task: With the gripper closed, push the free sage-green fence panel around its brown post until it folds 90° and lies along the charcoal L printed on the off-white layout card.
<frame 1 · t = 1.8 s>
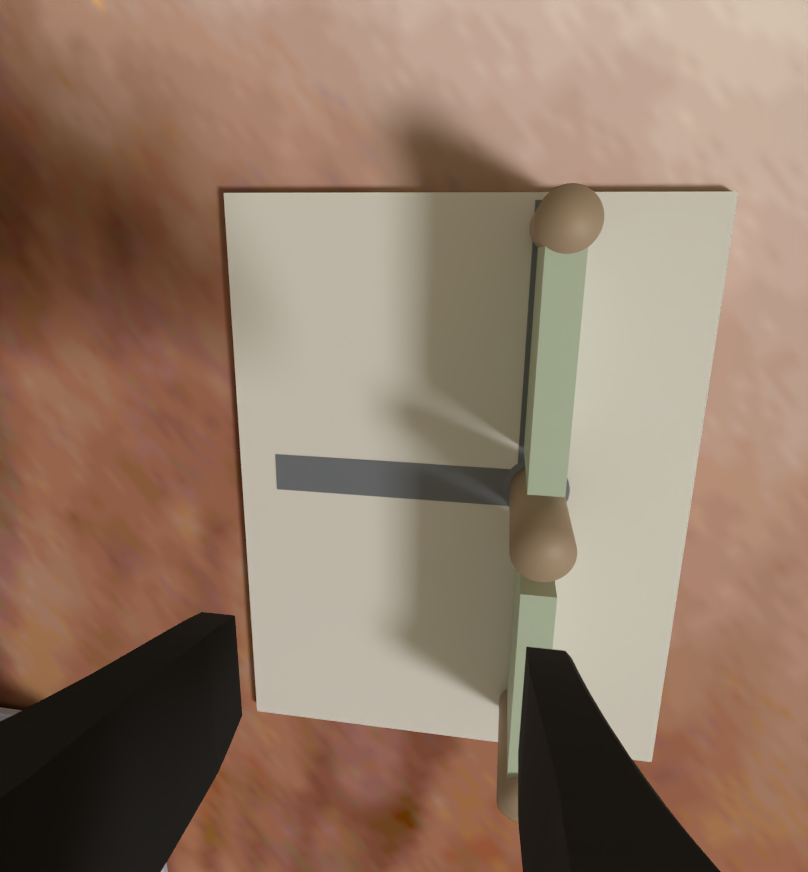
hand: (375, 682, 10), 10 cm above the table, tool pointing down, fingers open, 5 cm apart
fence panel: (527, 670, 18), point 3 cm above the table, hinge at 0.0°
layout card: (454, 495, 20), on the table
fence fixed: (535, 490, 19), resting on layout card
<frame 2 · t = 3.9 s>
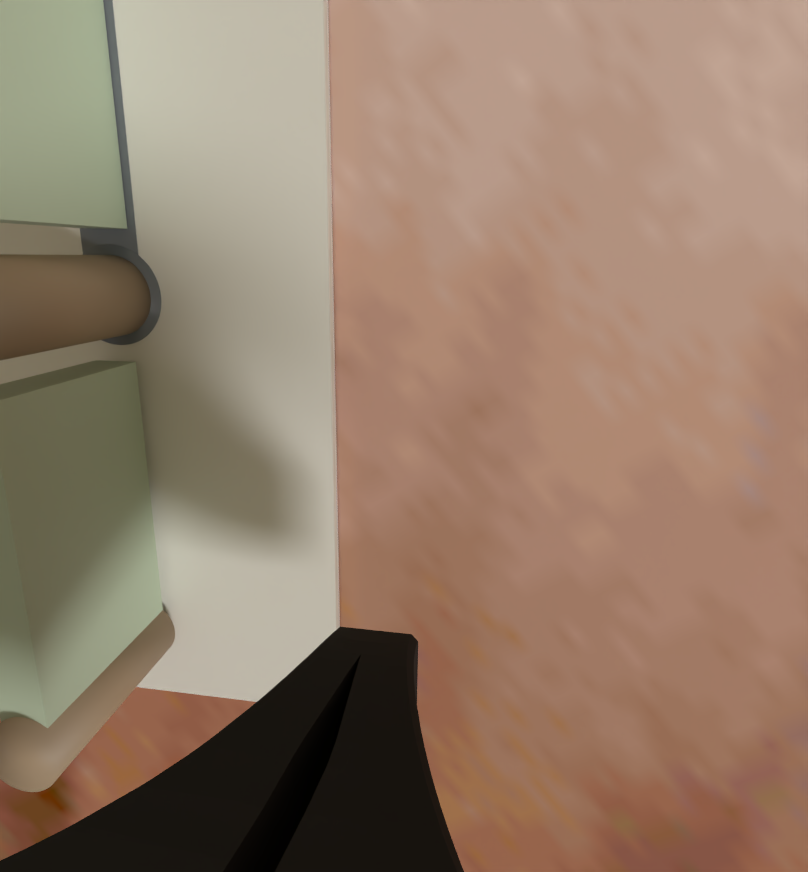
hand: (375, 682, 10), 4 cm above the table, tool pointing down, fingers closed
fence panel: (74, 559, 12), point 3 cm above the table, hinge at 0.0°
layout card: (20, 315, 13), on the table
fence fixed: (114, 295, 13), resting on layout card
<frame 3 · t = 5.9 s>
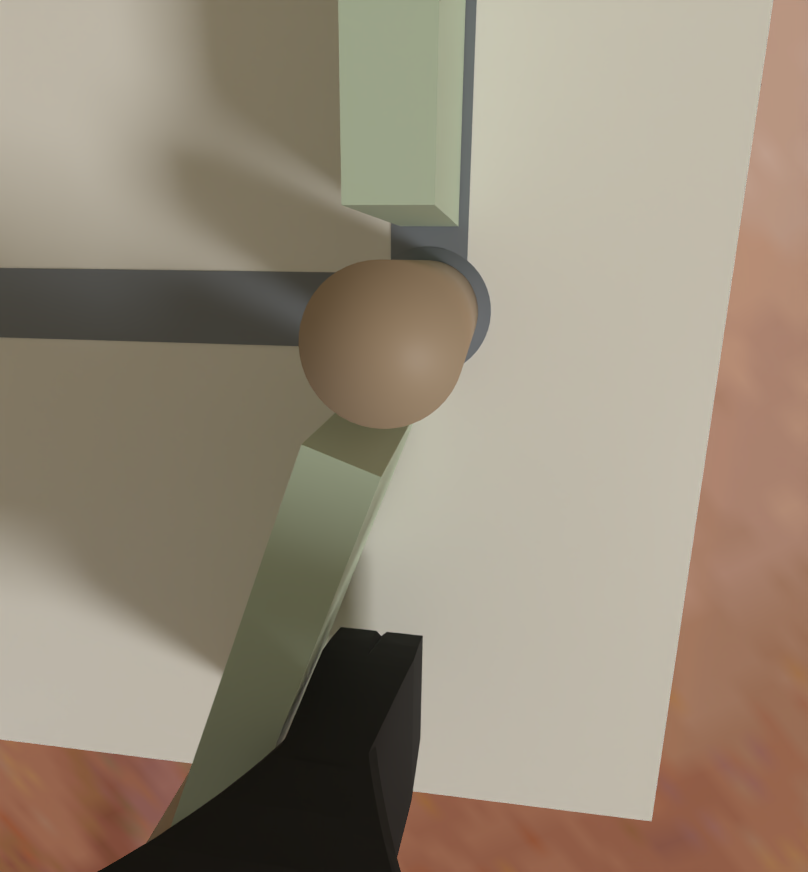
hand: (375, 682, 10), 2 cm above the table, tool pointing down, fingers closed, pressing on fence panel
fence panel: (294, 629, 9), point 3 cm above the table, hinge at 20.3°, touching gripper
layout card: (284, 337, 11), on the table
fence fixed: (427, 312, 10), resting on layout card
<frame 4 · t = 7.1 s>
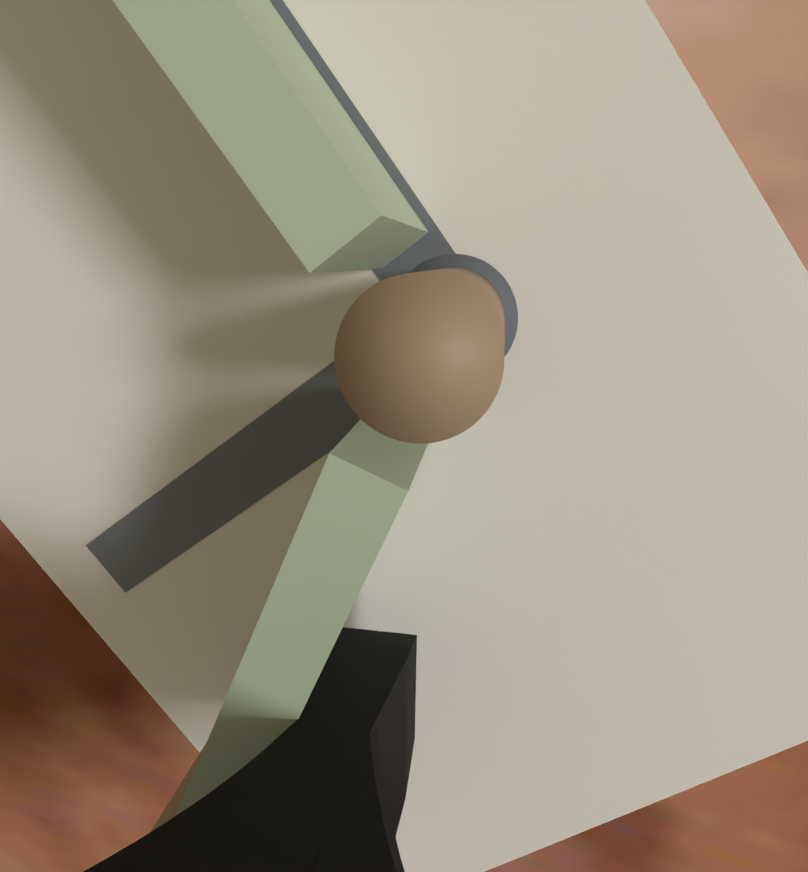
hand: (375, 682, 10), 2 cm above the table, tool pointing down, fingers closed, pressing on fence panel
fence panel: (303, 633, 9), point 3 cm above the table, hinge at 60.2°, touching gripper
layout card: (354, 425, 11), on the table
fence fixed: (453, 320, 10), resting on layout card
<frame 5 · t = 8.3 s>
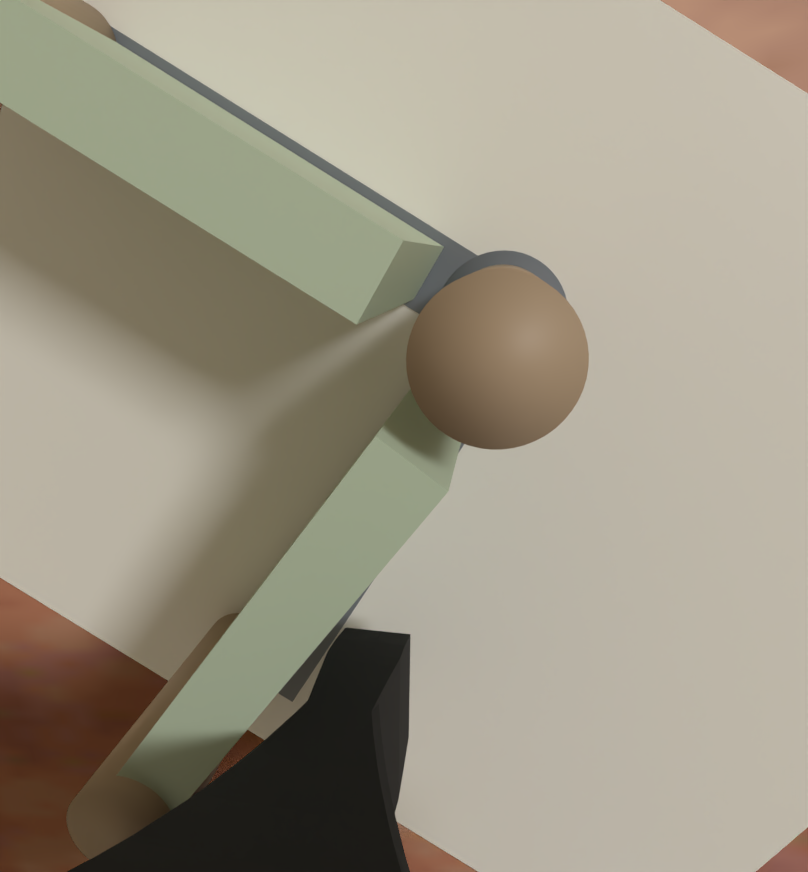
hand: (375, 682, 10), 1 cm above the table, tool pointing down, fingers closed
fence panel: (286, 603, 9), point 3 cm above the table, hinge at 95.7°, touching gripper
layout card: (445, 458, 11), on the table
fence fixed: (501, 318, 9), resting on layout card
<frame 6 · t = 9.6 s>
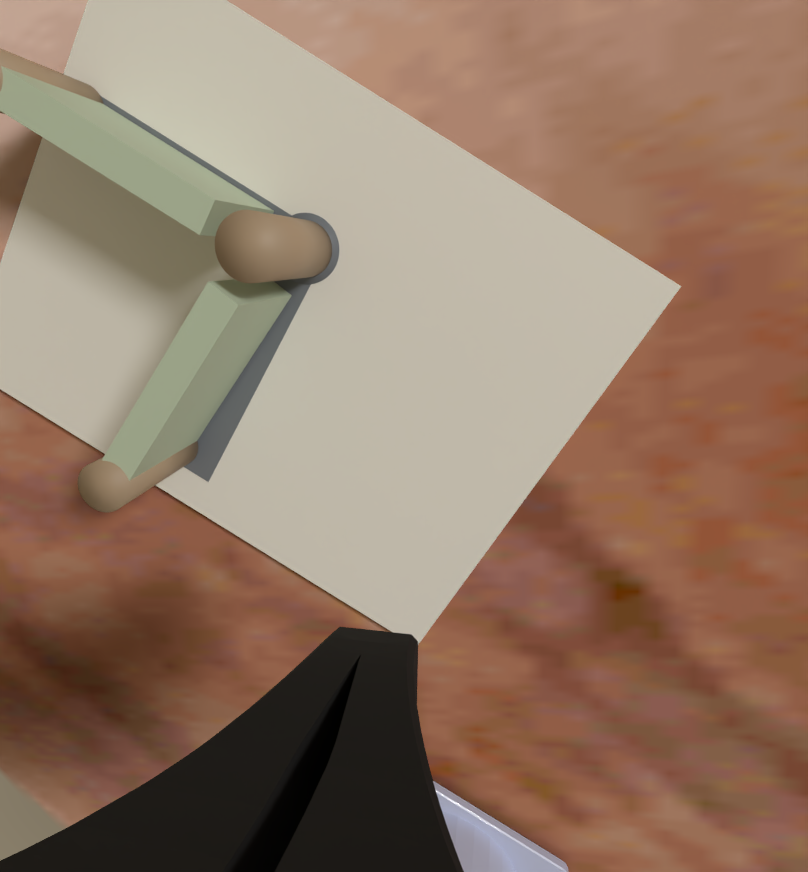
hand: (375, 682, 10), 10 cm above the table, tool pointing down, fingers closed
fence panel: (189, 391, 18), point 3 cm above the table, hinge at 95.9°
layout card: (286, 330, 19), on the table
fence fixed: (305, 249, 18), resting on layout card
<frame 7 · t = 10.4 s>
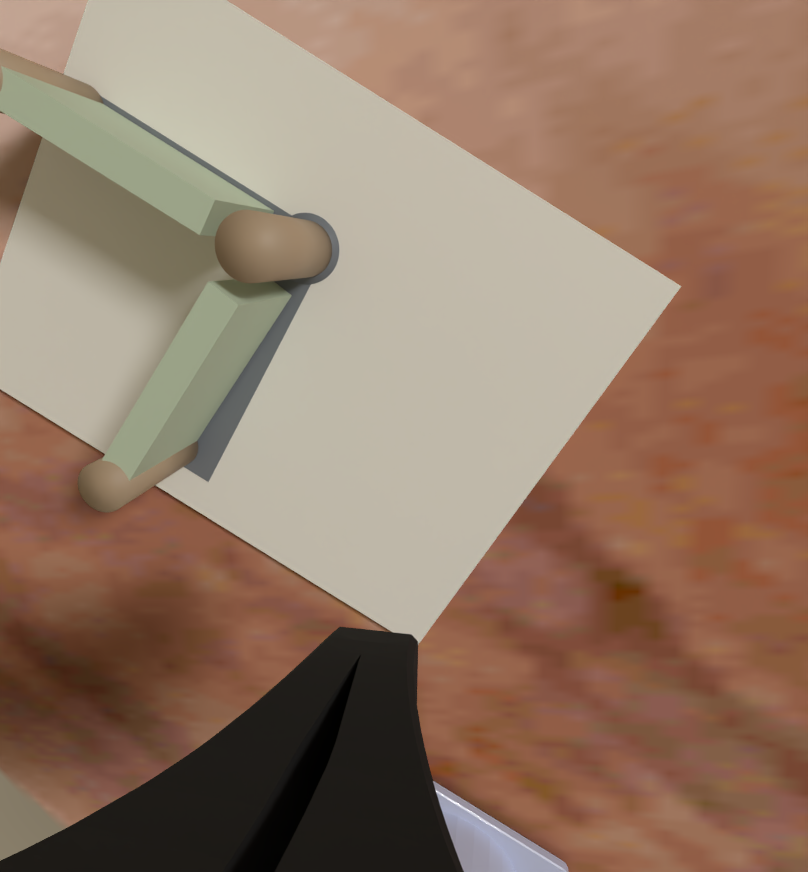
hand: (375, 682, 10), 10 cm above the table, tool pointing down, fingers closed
fence panel: (189, 391, 18), point 3 cm above the table, hinge at 95.9°
layout card: (286, 330, 19), on the table
fence fixed: (305, 249, 18), resting on layout card
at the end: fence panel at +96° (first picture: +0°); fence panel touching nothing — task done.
